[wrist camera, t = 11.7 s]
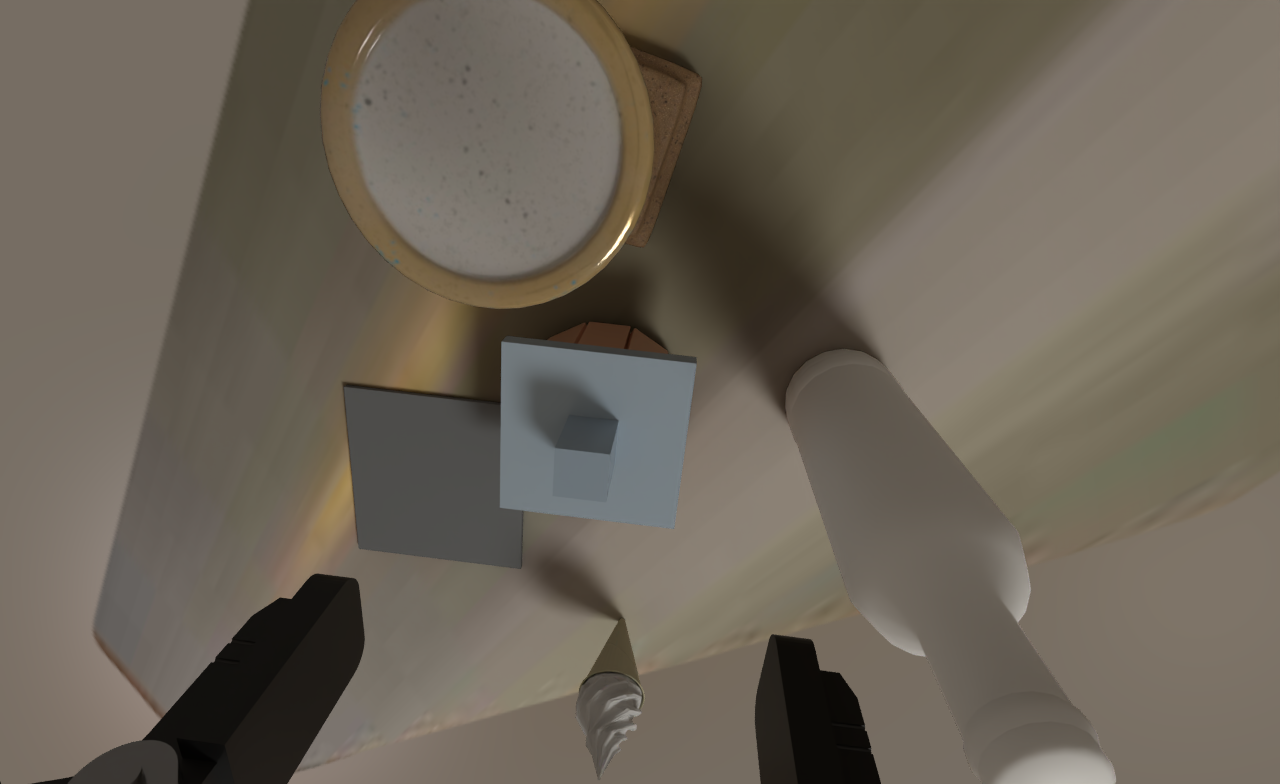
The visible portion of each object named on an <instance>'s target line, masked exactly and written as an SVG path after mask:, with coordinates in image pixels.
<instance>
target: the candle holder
mask: <svg viewBox="0 0 1280 784" xmlns="http://www.w3.org/2000/svg"><path fill="white" fill-rule="evenodd" d="M701 87H702V77H700V76H699V75H698V74H697V73H695V72H692V71H690V70H688V69H686V68H684V67H681V66H679V65H677V64H675V63H672V62H670V61H667V60H664V59H662V58H659V57H657V56H654V55H651V54H649V53H646V52H643V51H641V50H638V49H636V48H633V47H630V46H629V44H628V42H627V40H626V38H625V36H624V34H623V33H622V31H621V30H620V29H619V27H618V26H617V25H616V23H615V22H614V21H613V19H612V18H611V17H610V15H609V14H608V12H607V11H606V10H605V8H604V7H603V6H602V5H601V4H600V3H599V2H598V1H597V0H356V1H355V3H354V4H353V5H352V6H351V8H350V9H349V11H348V13H347V14H346V16H345V18H344V20H343V21H342V23H341V25H340V26H339V28H338V30H337V32H336V35H335V37H334V40H333V43H332V45H331V48H330V51H329V53H328V56H327V60H326V65H325V70H324V74H323V79H322V84H321V102H320V120H321V131H322V142H323V146H324V150H325V155H326V159H327V163H328V168H329V171H330V173H331V176H332V179H333V181H334V184H335V187H336V189H337V192H338V195H339V197H340V198H341V200H342V202H343V204H344V206H345V208H346V210H347V212H348V213H349V215H350V217H351V219H352V220H353V222H354V223H355V225H356V226H357V227H358V229H359V230H360V232H361V233H362V234H363V236H364V237H365V239H366V240H367V241H368V242H369V243H370V245H371V246H372V247H373V248H374V249H375V250H376V251H377V252H378V253H379V254H380V255H381V256H382V257H383V258H384V259H385V260H386V261H387V262H388V263H389V264H390V265H392V266H393V267H394V268H395V269H397V270H398V271H399V272H400V273H401V274H403V275H404V276H405V277H407V278H408V279H410V280H411V281H413V282H415V283H416V284H418V285H420V286H421V287H423V288H425V289H426V290H428V291H430V292H433V293H435V294H437V295H440V296H442V297H444V298H447V299H449V300H452V301H456V302H460V303H463V304H467V305H471V306H476V307H485V308H493V309H506V308H522V307H527V306H532V305H537V304H542V303H545V302H548V301H550V300H553V299H556V298H558V297H561V296H564V295H566V294H568V293H569V292H571V291H573V290H575V289H576V288H578V287H580V286H581V285H583V284H585V283H587V282H588V281H589V280H590V279H592V278H593V277H594V276H595V275H596V274H598V273H599V272H600V271H601V270H602V269H604V268H605V267H606V266H607V265H608V263H609V262H610V261H611V260H612V259H613V258H614V257H615V255H616V254H617V253H618V252H619V251H620V250H621V249H622V247H623V245H624V244H625V243H626V244H629V245H633V246H636V247H644V246H645V245H646V244H647V242H648V240H649V238H650V235H651V233H652V230H653V228H654V225H655V223H656V220H657V217H658V214H659V212H660V209H661V206H662V203H663V200H664V197H665V194H666V191H667V188H668V186H669V183H670V180H671V177H672V174H673V171H674V168H675V165H676V162H677V160H678V157H679V154H680V151H681V148H682V145H683V142H684V139H685V137H686V134H687V131H688V128H689V125H690V122H691V119H692V116H693V113H694V111H695V107H696V104H697V100H698V97H699V94H700V90H701Z"/></svg>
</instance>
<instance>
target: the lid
mask: <svg viewBox="0 0 1280 784" xmlns="http://www.w3.org/2000/svg"><path fill="white" fill-rule="evenodd" d="M696 364H697V361H696V357H691V356H682V355H673V354H664V353H655V352H647V351H638V350H629V349H620V348H611V347H602V346H593V345H585V344H576V343H567V342H558V341H549V340H540V339H531V338H522V337H514V336H506V337H505V338H504V339H503V340H502V342H501V443H500V508H506V509H514V510H523V511H531V512H539V513H547V514H556V515H564V516H572V517H580V518H588V519H597V520H605V521H613V522H621V523H629V524H638V525H646V526H654V527H662V528H671V529H674V526H675V519H676V511H677V504H678V496H679V489H680V482H681V474H682V467H683V460H684V452H685V445H686V438H687V430H688V423H689V416H690V408H691V401H692V394H693V386H694V379H695V371H696Z"/></svg>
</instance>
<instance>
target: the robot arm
mask: <svg viewBox="0 0 1280 784" xmlns="http://www.w3.org/2000/svg"><path fill="white" fill-rule="evenodd" d="M364 641H365V636H364V627H363V617H362V608H361V599H360V590H359V584H358V582H357V580H356V579H354V578H347V577H339V576H332V575H324V574H314V575H312V576H311V577H310V578H309V579H308V580H307V581H306V582H305V583H304V585H303V586H302V587H301V588H300V589H299V591H298V592H297V593H296V594H295V595H294V597H293V598H292V599H287V598H279V599H277V600H276V601H274V602H273V603H271V604H270V605H268V606H267V607H265V608H263V609H262V610H260V611H259V612H257V613H256V614H254V615H253V616H252V617H251V618H250V619H249V620H248V621H247V622H246V623H245V625H244V626H243V627H242V628H241V629H240V630H239V631H238V633H237V634H236V635H235V636H234V637H233V638H232V642H231V643H228V644H227V645H226V646H225V647H224V648H223V650H222V651H221V652H220V653H219V654H218V655H217V656H216V659H215V661H214V663H212V662H211V663H210V664H209V665H208V667H207V668H206V669H205V670H204V671H203V672H202V673H201V675H200V676H199V677H198V678H197V679H196V680H195V681H194V683H193V684H192V685H191V686H190V687H189V688H188V689H187V691H186V692H185V693H184V694H183V695H182V696H181V697H180V698H179V700H178V701H177V702H176V703H175V704H174V705H173V706H172V708H171V709H170V710H169V711H168V712H167V713H166V714H165V716H164V717H163V718H162V719H161V720H160V721H159V722H158V724H157V725H156V726H155V727H154V728H153V729H152V731H151V732H150V733H149V734H148V735H147V736H146V737H145V738H144V739H143V740H142V741H136V742H131V743H128V744H125V745H121V746H119V747H116V748H114V749H112V750H110V751H108V752H106V753H104V754H102V755H100V756H99V757H97V758H96V759H94V760H93V761H92V762H90V763H89V764H87V765H86V766H85V767H83V768H82V769H81V770H80V771H79V772H78V773H77V774H76V775H75V776H73V777H69V778H63V779H57V780H52V781H45V782H39V783H33V784H287V783H288V782H289V780H290V779H291V777H292V775H293V774H294V772H295V770H296V769H297V767H298V765H299V764H300V762H301V761H302V759H303V757H304V756H305V754H306V752H307V751H308V749H309V747H310V746H311V744H312V742H313V741H314V739H315V737H316V736H317V734H318V733H319V731H320V729H321V728H322V726H323V724H324V723H325V721H326V719H327V718H328V716H329V714H330V713H331V711H332V709H333V708H334V706H335V705H336V703H337V701H338V700H339V698H340V696H341V695H342V693H343V691H344V690H345V688H346V686H347V685H348V683H349V681H350V680H351V678H352V677H353V675H354V673H355V671H356V670H357V667H358V665H359V663H360V660H361V657H362V653H363V649H364ZM755 729H756V739H757V749H758V760H759V769H760V780H761V784H881V782H880V778H879V774H878V771H877V767H876V764H875V760H874V757H873V754H871V746H870V742H869V738H868V735H867V731H865V724H864V720H863V717H862V713H861V710H860V706H859V702H858V699H857V697H856V696H855V694H854V693H853V691H852V690H851V689H850V687H849V686H848V684H847V683H846V681H845V680H844V679H843V677H842V676H841V674H840V673H836V672H827V671H821V670H820V669H819V664H818V661H817V655H816V651H815V647H814V644H813V641H812V640H811V639H804V638H796V637H789V636H781V635H773V634H772V635H771V637H770V639H769V642H768V647H767V651H766V655H765V660H764V664H763V668H762V672H761V677H760V681H759V685H758V689H757V695H756V705H755ZM0 784H1V782H0Z"/></svg>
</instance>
